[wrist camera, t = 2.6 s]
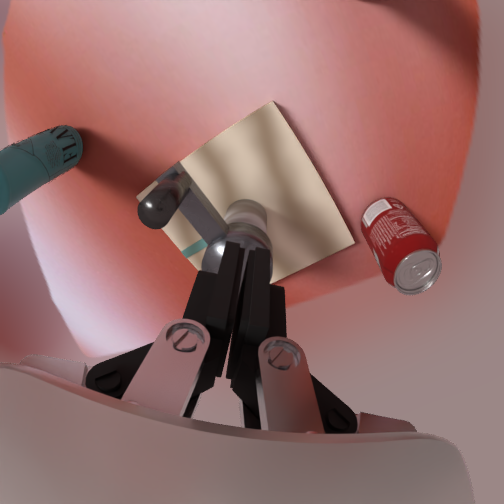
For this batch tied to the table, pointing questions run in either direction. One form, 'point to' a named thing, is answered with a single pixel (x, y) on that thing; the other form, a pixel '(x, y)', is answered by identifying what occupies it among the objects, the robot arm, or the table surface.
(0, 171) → the beverage bottle
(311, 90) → the table surface
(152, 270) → the table surface
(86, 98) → the table surface
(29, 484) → the robot arm
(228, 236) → the crank handle
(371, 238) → the soda can
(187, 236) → the square base with post
